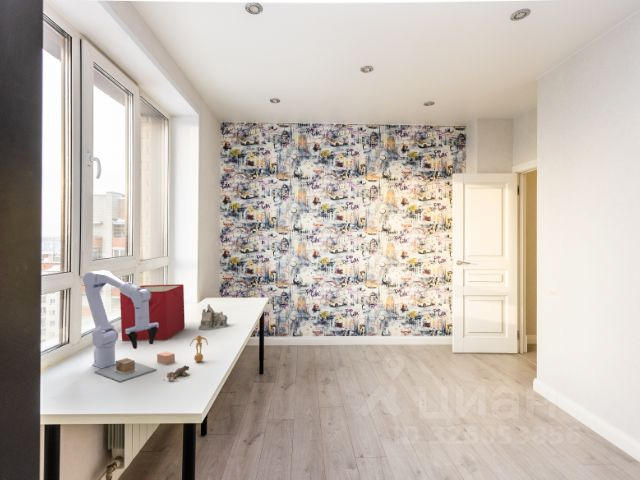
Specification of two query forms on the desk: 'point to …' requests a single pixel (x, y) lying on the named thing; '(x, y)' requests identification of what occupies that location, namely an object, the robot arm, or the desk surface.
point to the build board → (120, 376)
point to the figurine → (198, 356)
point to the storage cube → (157, 311)
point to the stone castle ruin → (212, 319)
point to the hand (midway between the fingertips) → (143, 346)
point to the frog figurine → (177, 375)
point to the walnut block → (125, 365)
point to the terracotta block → (166, 358)
